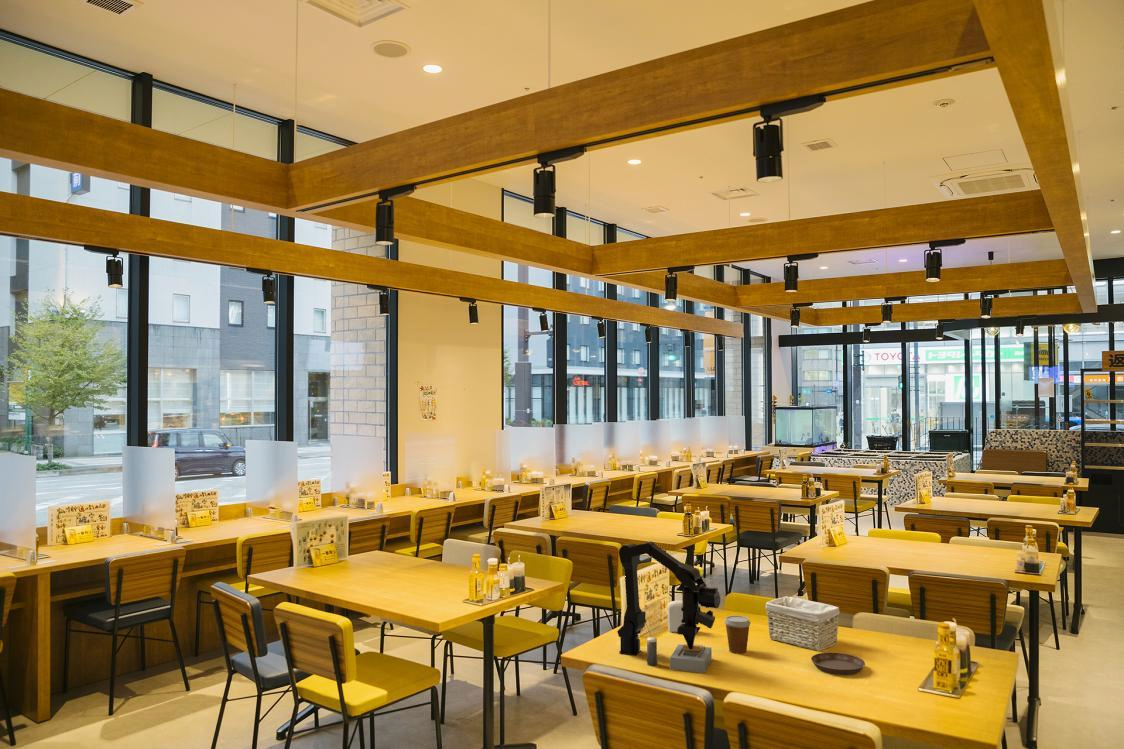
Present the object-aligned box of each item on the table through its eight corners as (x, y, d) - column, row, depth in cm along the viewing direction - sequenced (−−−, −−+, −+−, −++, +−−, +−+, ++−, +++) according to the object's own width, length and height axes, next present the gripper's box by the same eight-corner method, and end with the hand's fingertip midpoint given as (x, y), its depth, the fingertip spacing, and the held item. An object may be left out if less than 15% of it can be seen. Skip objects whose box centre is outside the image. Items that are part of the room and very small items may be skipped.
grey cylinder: (646, 665, 264) (646, 639, 265) (648, 662, 268) (648, 636, 268) (655, 666, 263) (655, 640, 264) (657, 663, 266) (657, 637, 267)
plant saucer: (831, 680, 250) (831, 670, 250) (801, 663, 267) (800, 654, 267) (876, 675, 255) (876, 665, 255) (843, 658, 272) (843, 650, 272)
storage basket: (842, 644, 288) (841, 605, 289) (821, 654, 277) (820, 613, 278) (786, 631, 305) (785, 595, 306) (764, 640, 294) (763, 601, 295)
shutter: (683, 649, 268) (683, 645, 268) (686, 645, 274) (686, 640, 274) (699, 651, 266) (699, 646, 266) (702, 646, 272) (702, 642, 272)
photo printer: (668, 632, 304) (668, 601, 305) (667, 629, 308) (667, 599, 309) (694, 633, 304) (693, 602, 304) (692, 630, 308) (692, 599, 309)
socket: (670, 669, 260) (669, 655, 261) (678, 655, 275) (678, 642, 276) (704, 673, 256) (704, 659, 257) (711, 658, 271) (711, 645, 272)
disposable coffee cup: (751, 656, 274) (751, 622, 275) (724, 654, 276) (724, 621, 277) (750, 648, 284) (749, 616, 284) (724, 646, 286) (724, 614, 286)
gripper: (709, 612, 256) (709, 659, 255) (717, 600, 273) (717, 643, 272) (676, 609, 259) (677, 655, 258) (686, 597, 277) (687, 640, 276)
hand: (690, 648), depth 266 cm, fingers closed
